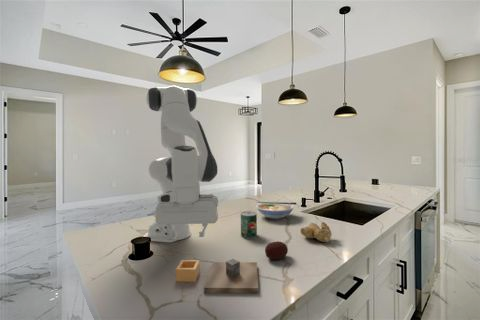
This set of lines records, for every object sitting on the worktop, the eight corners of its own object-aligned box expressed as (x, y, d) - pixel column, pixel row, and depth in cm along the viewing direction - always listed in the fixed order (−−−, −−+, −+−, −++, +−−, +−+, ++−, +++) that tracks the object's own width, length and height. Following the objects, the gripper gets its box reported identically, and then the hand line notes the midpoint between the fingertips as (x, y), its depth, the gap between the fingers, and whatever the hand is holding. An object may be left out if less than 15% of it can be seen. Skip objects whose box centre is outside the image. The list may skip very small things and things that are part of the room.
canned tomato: (255, 239, 112) (255, 216, 111) (239, 238, 113) (239, 215, 113) (257, 233, 120) (257, 211, 119) (242, 232, 121) (242, 211, 121)
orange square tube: (176, 281, 76) (175, 269, 76) (181, 271, 83) (181, 260, 83) (195, 281, 76) (195, 269, 76) (200, 271, 82) (199, 260, 82)
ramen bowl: (250, 221, 139) (250, 207, 139) (259, 211, 161) (259, 199, 161) (294, 224, 132) (294, 210, 132) (296, 214, 154) (296, 201, 154)
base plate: (204, 292, 70) (203, 274, 70) (212, 266, 86) (212, 251, 86) (258, 293, 69) (258, 274, 69) (256, 266, 85) (256, 251, 85)
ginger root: (321, 246, 99) (318, 225, 101) (293, 243, 113) (290, 225, 114) (344, 239, 108) (341, 220, 109) (316, 237, 121) (313, 220, 123)
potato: (260, 257, 93) (260, 242, 92) (280, 251, 98) (280, 236, 98) (272, 265, 86) (272, 248, 86) (293, 258, 92) (293, 242, 91)
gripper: (219, 192, 81) (220, 232, 81) (159, 194, 82) (161, 233, 82) (216, 196, 75) (217, 239, 75) (152, 197, 75) (154, 240, 76)
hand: (187, 236), depth 79 cm, fingers open, 8 cm apart
